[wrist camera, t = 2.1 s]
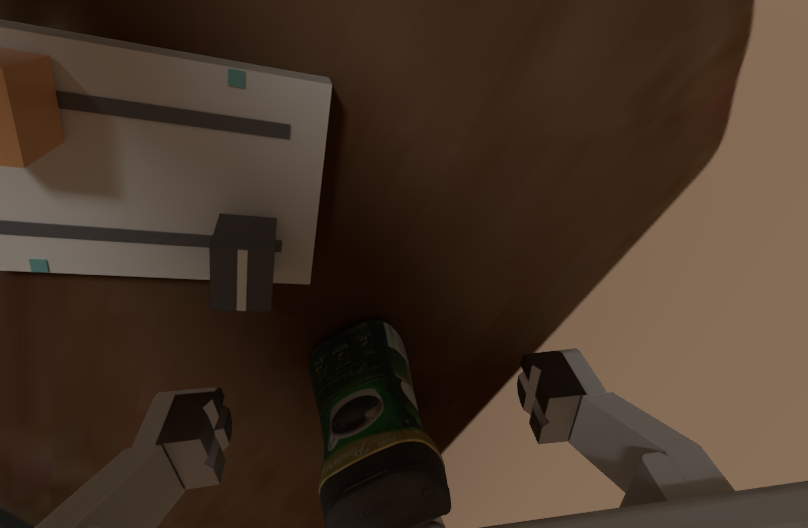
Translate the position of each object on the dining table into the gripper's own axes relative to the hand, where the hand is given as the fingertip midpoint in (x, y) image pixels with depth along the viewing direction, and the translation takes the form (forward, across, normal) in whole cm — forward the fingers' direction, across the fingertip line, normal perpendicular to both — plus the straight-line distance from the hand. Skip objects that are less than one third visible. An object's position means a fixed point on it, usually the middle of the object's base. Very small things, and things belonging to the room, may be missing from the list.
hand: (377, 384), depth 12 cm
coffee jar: (+26, +1, +23) cm, 35 cm away
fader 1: (+21, +19, -4) cm, 29 cm away
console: (+25, +15, +2) cm, 29 cm away
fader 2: (+22, +9, +8) cm, 25 cm away
